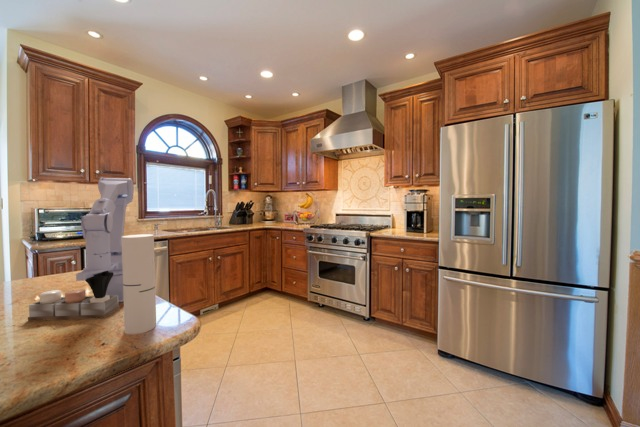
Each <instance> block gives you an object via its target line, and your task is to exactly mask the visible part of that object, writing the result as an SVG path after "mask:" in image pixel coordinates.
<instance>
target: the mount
mask: <svg viewBox="0 0 640 427" xmlns="http://www.w3.org/2000/svg"><path fill="white" fill-rule="evenodd" d="M92 297H94V295H91V296H90V295H88V296H87V295H86V300H84V301H81V302H79V303H65V296H61V300H60V301H58V302H56V303H53V304H40V300H39V301H36V302H33V303H31V304H29V305H28V316H27V321H28V322H30V321H31V322H32V321H36V322H37V321H57V320H59V321H61V320H62V321H63V320H88V319H91V320H97V319H106V318H107V317H110V316H111V315H112V314H114V313H116V312H117V311H119V310H120V305H119V302H118V296H110V299H109V300H107V301H105V302H98V303H90V299H91V298H92Z"/></svg>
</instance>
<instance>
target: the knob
mask: <svg viewBox="0 0 640 427" xmlns="http://www.w3.org/2000/svg"><path fill="white" fill-rule="evenodd" d="M109 299H110V296H109V295H105V297H103V298H95V297H92V298H91V299H90V303H98V302H105V301H107V300H109Z"/></svg>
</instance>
